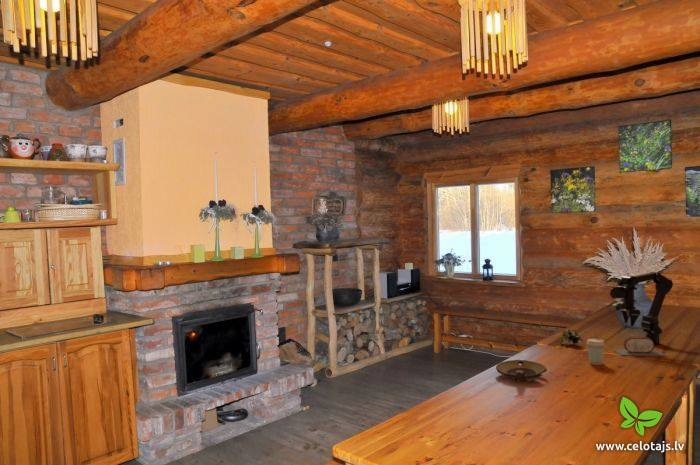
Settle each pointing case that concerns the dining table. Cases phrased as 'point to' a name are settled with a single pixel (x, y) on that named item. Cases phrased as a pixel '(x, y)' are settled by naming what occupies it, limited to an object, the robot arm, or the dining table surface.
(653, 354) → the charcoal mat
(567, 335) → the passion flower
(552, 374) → the dining table surface
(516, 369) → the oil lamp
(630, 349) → the tin
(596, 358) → the coffee cup
